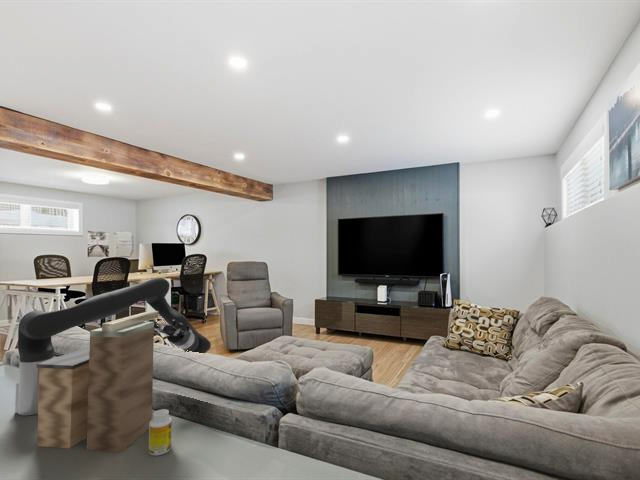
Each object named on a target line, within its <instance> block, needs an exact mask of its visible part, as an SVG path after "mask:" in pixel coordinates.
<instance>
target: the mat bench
mask: <svg viewBox="0 0 640 480" xmlns="http://www.w3.org/2000/svg"><path fill="white" fill-rule="evenodd" d="M89 352H90V347H82V348H80V349H77V350H74V351H71V352H68V353H65V354H62V355H58V356H57V357H54V358H53V359H50V360H47V361H44V362H41V363H38V364H37V367H36V368H40V374H39V403H38V414H37V435H36V438H37V440H36V446H37V447H43V448H44V447H46V448H61V449H71V448H73V447H74V446H76V445H77V444H78V443H80V442H81V441H83V440H85V439H87V420H88V386H89Z"/></svg>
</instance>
